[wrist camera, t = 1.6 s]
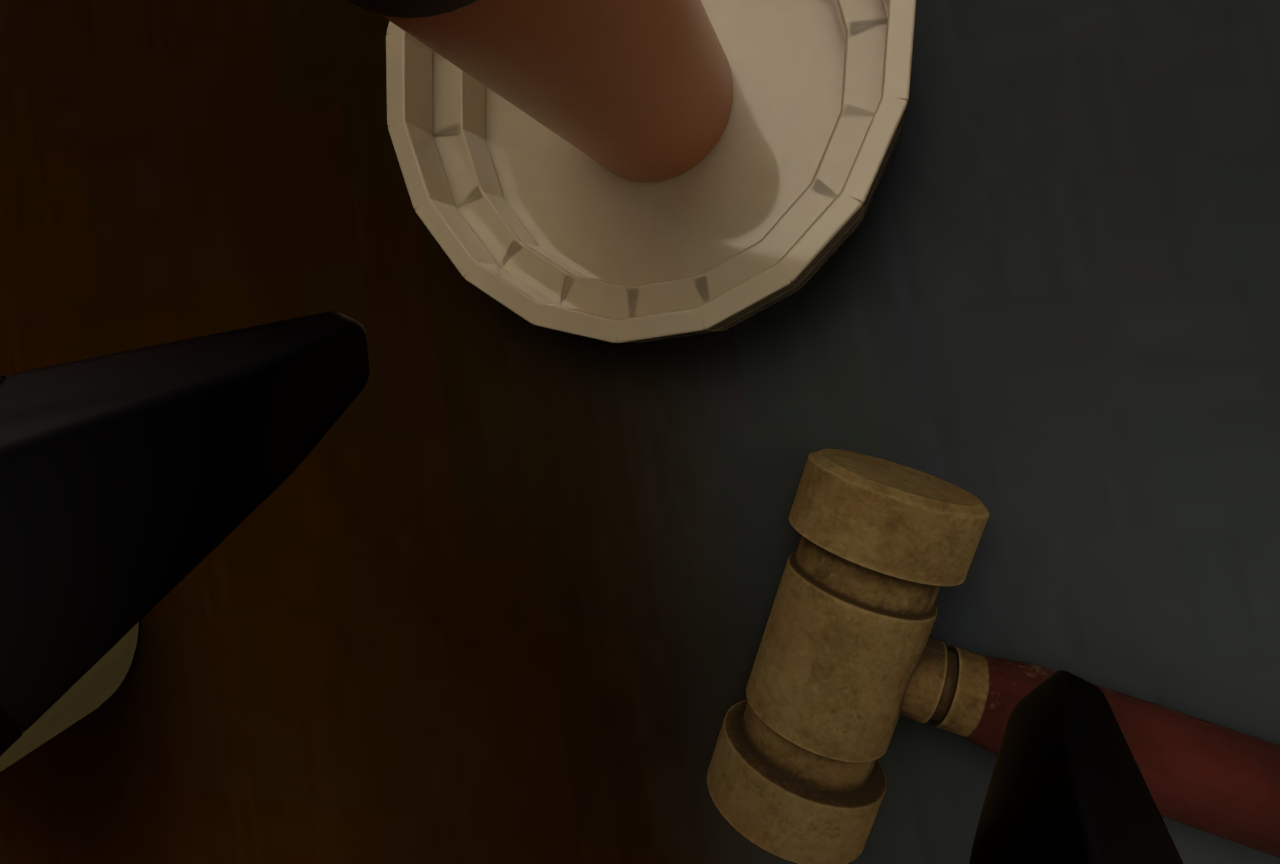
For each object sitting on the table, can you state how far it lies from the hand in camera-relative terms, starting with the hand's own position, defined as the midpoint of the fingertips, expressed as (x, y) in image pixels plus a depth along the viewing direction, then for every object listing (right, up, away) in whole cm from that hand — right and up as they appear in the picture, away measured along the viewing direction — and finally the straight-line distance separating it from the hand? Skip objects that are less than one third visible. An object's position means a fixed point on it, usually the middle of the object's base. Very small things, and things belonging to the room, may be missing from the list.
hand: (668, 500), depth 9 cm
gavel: (+13, -7, +12) cm, 19 cm away
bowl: (0, +10, +13) cm, 17 cm away
